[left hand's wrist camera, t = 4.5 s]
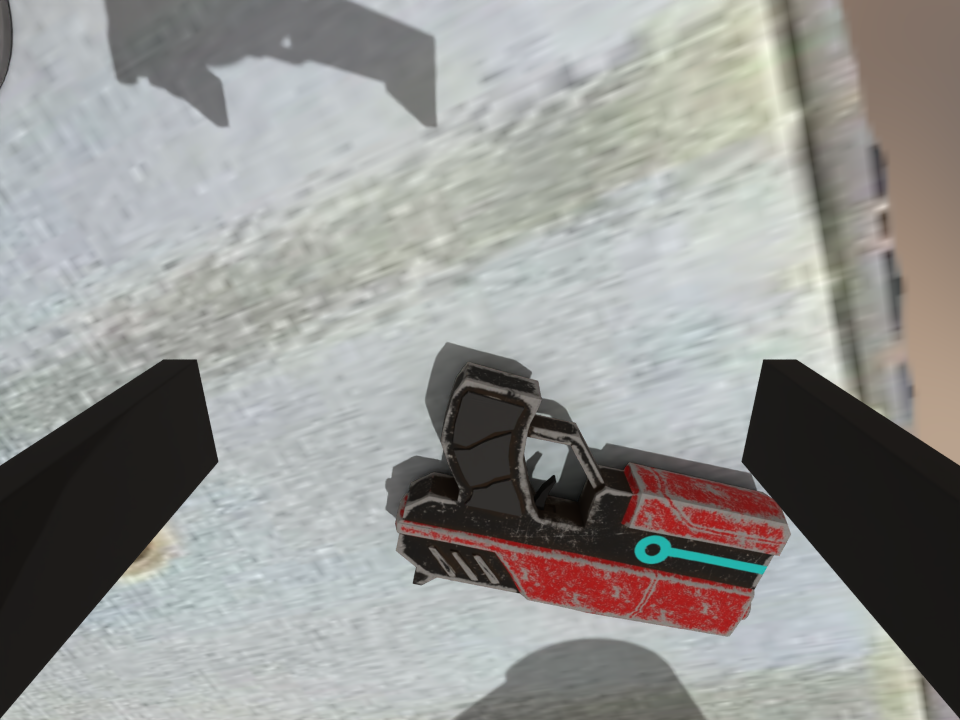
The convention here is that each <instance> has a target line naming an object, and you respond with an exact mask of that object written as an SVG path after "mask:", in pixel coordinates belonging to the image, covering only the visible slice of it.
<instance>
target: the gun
mask: <svg viewBox="0 0 960 720" xmlns="http://www.w3.org/2000/svg"><path fill="white" fill-rule="evenodd" d="M541 401H542V399H541V393H540V388H539V383H538V381H537V380H533V379H529V378H525V377H522V376H518V375H514V374H510V373H507V372H503V371H499V370H496V369H492V368H488V367H485V366H481V365H478V364H474V363H471V362H467V364H466V365H465V366H464V368H463V369H462V370H461V371H460V373H459V374H458V375H457V377H456V380H455V382H454V385H453V389H452V392H451V395H450V399H449V402H448V406H447V410H446V414H445V419H444V424H443V430H442V435H441V444H442V447H443V450H444V453H445V456H446V459H447V462H448V464H449V467H450V469H451V471H452V474H453V476H451V475H446V474H441V473H436V472H433V473H431V474H428V475H426V476H424V477H422V478H420V479H418V480H416V481H413V482H411V485H410V489H409V493H406V494H405V495H404V496H403V498H402V499H401V502H400V505H399V509H398V513H397V517H396V522H395V525H396V530H397V532H398V533H400V534H399V538H398V543H397V548H396V551H397V552H398V553H399V554H401V555H402V556H403V557H404V558H406V559H407V560H408V561H409V562H410V563H412V564H413V565H414V566H415V567H416V570H415V574H414V579H413V584H417V585H423V584H425V583H427V582H429V581H431V580H433V579H435V578H437V577H438V578H443V579H448V580H453V581H458V582H463V583H468V584H474V585H479V586H484V587H489V588H494V589H499V590H505V591H510V592H515V593H520V594H522V595H523V596H524V597H525V598H526V599H527V600H531V601H536V602H541V603H546V604H551V605H556V606H560V607H565V608H569V609H574V610H578V611H582V612H586V613H592V614H598V615H604V616H609V617H615V618H621V619H627V620H633V621H639V622H645V623H651V624H657V625H662V626H668V627H674V628H680V629H686V630H692V631H698V632H704V633H710V634H715V635H721V636H730V635H731V633H732V632H733V631H734V629H735V628H736V627H737V625H738V624H739V622H740V621H741V620H745V619H746V618H747V617H748V615H749V613H750V609H751V601H752V600H753V598H754V589H755V587H756V586H757V584H758V582H759V580H760V579H761V577H762V575H763V573H764V572H765V570H766V568H767V566H768V565H769V563H770V561H771V559H772V558H773V556H774V555H777V556H780V554H781V552H782V550H783V548H784V546H785V544H786V543H787V541H788V539H789V537H790V535H791V533H790V530H789V527H788V524H787V522H786V519H785V516H784V514H783V511H782V509H781V508H780V506H779V505H778V504H777V503H776V502H775V501H774V499H772V498H771V497H769V496H768V495H766V494H765V493H763V492H760V491H755V490H751V489H746V488H742V487H737V486H733V485H728V484H724V483H719V482H715V481H710V480H706V479H701V478H697V477H692V476H688V475H683V474H679V473H674V472H670V471H665V470H661V469H656V468H652V467H647V466H643V465H639V464H635V463H630V462H629V463H628V464H627V466H626V467H625V468H624V470H620V469H615V468H610V467H606V466H601V465H597V463H596V461H595V459H594V457H593V455H592V453H591V451H590V449H589V447H588V446H587V444H586V442H585V440H584V438H583V436H582V434H581V432H580V430H579V428H578V427H577V425H576V423H574V422H569V421H564V420H559V419H555V418H550V417H545V416H541V415H536V412H537V410H538V408H539V405H540V403H541ZM527 437H532V438H536V439H541V440H546V441H551V442H556V443H561V444H566V445H571V447H572V449H573V451H574V453H575V455H576V456H577V458H578V460H579V462H580V464H581V466H582V468H583V469H584V471H585V473H586V475H587V479H586V482H585V484H584V487H583V490H582V493H581V495H580V498H579V501H578V502H577V501H572V500H567V499H562V498H557V497H553V496H548V493H549V491H550V490H551V488H552V487H553V486H554V484H555V483H556V478H555V475H553V476H552V477H550V478H549V479H548V480H547V481H546V482H545V483H544V484H542V486H541V487H540V489H539V490H538V491H537V493H536V492H535V490H534V488H533V486H532V485H531V483H530V481H529V476H528V471H527V467H526V462H525V457H524V450H525V444H526V439H527Z"/></svg>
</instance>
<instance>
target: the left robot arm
mask: <svg viewBox="0 0 960 720" xmlns="http://www.w3.org/2000/svg"><path fill="white" fill-rule="evenodd" d="M10 51H11V21H10V14H9V8H8V2H7V0H0V86H1V84H2V82H3V80H4V77H5V74H6V72H7V68H8V63H9V59H10ZM217 463H218V457H217V453H216V448H215V443H214V439H213V434H212V429H211V425H210V420H209V415H208V410H207V406H206V401H205V396H204V392H203V387H202V382H201V377H200V373H199V368H198V363H197V360H162V361H161V362H159V363H158V364H156V365H154V366H153V367H151V368H150V369H148V370H147V371H145V372H144V373H142V374H141V375H139V376H138V377H136V378H134V379H133V380H131V381H130V382H128V383H127V384H125V385H124V386H122V387H121V388H119V389H117V390H116V391H114V392H113V393H111V394H110V395H108V396H107V397H105V398H104V399H102V400H101V401H99V402H97V403H96V404H94V405H93V406H91V407H90V408H88V409H87V410H85V411H84V412H82V413H81V414H79V415H77V416H76V417H74V418H73V419H71V420H70V421H68V422H67V423H65V424H64V425H62V426H61V427H59V428H57V429H56V430H54V431H53V432H51V433H50V434H48V435H47V436H45V437H44V438H42V439H41V440H39V441H37V442H36V443H34V444H33V445H31V446H30V447H28V448H27V449H25V450H24V451H22V452H21V453H19V454H17V455H16V456H14V457H13V458H11V459H10V460H8V461H7V462H5V463H4V464H2V465H1V466H0V718H1V717H2V716H3V715H4V714H5V712H6V711H7V710H8V709H9V708H10V707H11V705H12V704H13V703H14V702H15V701H16V700H17V698H18V697H19V696H20V695H21V694H22V692H23V691H24V690H25V689H26V688H27V687H28V685H29V684H30V683H31V682H32V681H33V680H34V678H35V677H36V676H37V675H38V674H39V672H40V671H41V670H42V669H43V668H44V667H45V665H46V664H47V663H48V662H49V661H50V659H51V658H52V657H53V656H54V655H55V654H56V652H57V651H58V650H59V649H60V648H61V647H62V645H63V644H64V643H65V642H66V641H67V639H68V638H69V637H70V636H71V635H72V634H73V632H74V631H75V630H76V629H77V628H78V627H79V625H80V624H81V623H82V622H83V621H84V619H85V618H86V617H87V616H88V615H89V614H90V612H91V611H92V610H93V609H94V608H95V607H96V605H97V604H98V603H99V602H100V601H101V599H102V598H103V597H104V596H105V595H106V594H107V592H108V591H109V590H110V589H111V588H112V587H113V585H114V584H115V583H116V582H117V581H118V579H119V578H120V577H121V576H122V575H123V574H124V572H125V571H126V570H127V569H128V568H129V567H130V565H131V564H132V563H133V562H134V561H135V559H136V558H137V557H138V556H139V555H140V554H141V552H142V551H143V550H144V549H145V548H146V546H147V545H148V544H149V543H150V542H151V541H152V539H153V538H154V537H155V536H156V535H157V534H158V532H159V531H160V530H161V529H162V528H163V526H164V525H165V524H166V523H167V522H168V521H169V519H170V518H171V517H172V516H173V515H174V514H175V512H176V511H177V510H178V509H179V508H180V506H181V505H182V504H183V503H184V502H185V501H186V499H187V498H188V497H189V496H190V495H191V494H192V492H193V491H194V490H195V489H196V488H197V486H198V485H199V484H200V483H201V482H202V481H203V479H204V478H205V477H206V476H207V475H208V474H209V472H210V471H211V470H212V469H213V468H214V466H215V465H216V464H217ZM742 463H743V464H744V465H745V466H746V468H747V469H748V470H749V471H750V472H751V474H752V475H753V476H754V477H755V478H756V479H757V481H758V482H759V483H760V484H761V485H762V486H763V488H764V489H765V490H766V491H767V492H768V494H769V495H770V496H771V497H772V498H773V499H774V501H775V502H776V503H777V504H778V505H779V506H780V508H781V509H782V510H783V511H784V512H785V514H786V515H787V516H788V517H789V518H790V519H791V521H792V522H793V523H794V524H795V525H796V526H797V528H798V529H799V530H800V531H801V532H802V534H803V535H804V536H805V537H806V538H807V539H808V541H809V542H810V543H811V544H812V545H813V547H814V548H815V549H816V550H817V551H818V552H819V554H820V555H821V556H822V557H823V558H824V559H825V561H826V562H827V563H828V564H829V565H830V567H831V568H832V569H833V570H834V571H835V572H836V574H837V575H838V576H839V577H840V578H841V579H842V581H843V582H844V583H845V584H846V585H847V587H848V588H849V589H850V590H851V591H852V592H853V594H854V595H855V596H856V597H857V598H858V599H859V601H860V602H861V603H862V604H863V605H864V607H865V608H866V609H867V610H868V611H869V612H870V614H871V615H872V616H873V617H874V618H875V619H876V621H877V622H878V623H879V624H880V625H881V627H882V628H883V629H884V630H885V631H886V632H887V634H888V635H889V636H890V637H891V638H892V639H893V641H894V642H895V643H896V644H897V645H898V647H899V648H900V649H901V650H902V651H903V652H904V654H905V655H906V656H907V657H908V658H909V659H910V661H911V662H912V663H913V664H914V665H915V667H916V668H917V669H918V670H919V671H920V672H921V674H922V675H923V676H924V677H925V678H926V680H927V681H928V682H929V683H930V684H931V685H932V687H933V688H934V689H935V690H936V691H937V692H938V694H939V695H940V696H941V697H942V698H943V700H944V701H945V702H946V703H947V704H948V705H949V707H950V708H951V709H952V710H953V711H954V712H955V714H956V715H957V716H958V717H959V718H960V466H959V465H958V464H956V463H955V462H953V461H952V460H950V459H949V458H947V457H946V456H944V455H943V454H941V453H939V452H938V451H936V450H935V449H933V448H932V447H930V446H929V445H927V444H926V443H924V442H923V441H921V440H919V439H918V438H916V437H915V436H913V435H912V434H910V433H909V432H907V431H906V430H904V429H903V428H901V427H899V426H898V425H896V424H895V423H893V422H892V421H890V420H889V419H887V418H886V417H884V416H883V415H881V414H879V413H878V412H876V411H875V410H873V409H872V408H870V407H869V406H867V405H866V404H864V403H863V402H861V401H859V400H858V399H856V398H855V397H853V396H852V395H850V394H849V393H847V392H846V391H844V390H842V389H841V388H839V387H838V386H836V385H835V384H833V383H832V382H830V381H829V380H827V379H826V378H824V377H822V376H821V375H819V374H818V373H816V372H815V371H813V370H812V369H810V368H809V367H807V366H806V365H804V364H802V363H801V362H799V361H798V360H763V363H762V368H761V373H760V377H759V382H758V387H757V392H756V396H755V401H754V406H753V410H752V415H751V420H750V425H749V429H748V434H747V439H746V443H745V448H744V453H743V457H742Z"/></svg>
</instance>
